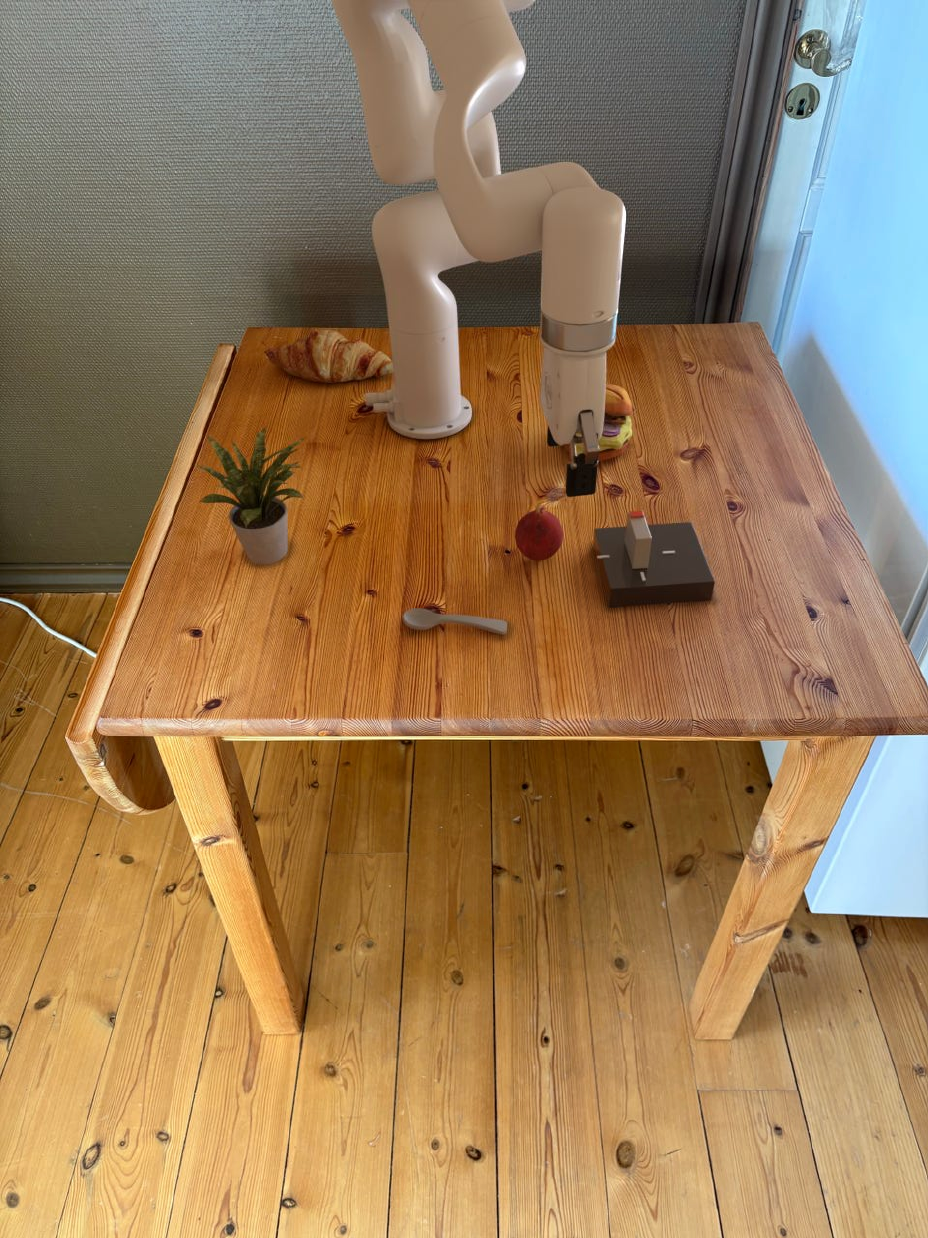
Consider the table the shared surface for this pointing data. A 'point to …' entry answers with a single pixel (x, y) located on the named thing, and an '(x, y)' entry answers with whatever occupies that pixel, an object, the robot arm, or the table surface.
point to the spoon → (450, 621)
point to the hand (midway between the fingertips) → (570, 468)
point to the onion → (539, 534)
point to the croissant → (330, 358)
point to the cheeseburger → (613, 424)
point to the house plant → (256, 499)
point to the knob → (638, 539)
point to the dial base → (654, 567)
